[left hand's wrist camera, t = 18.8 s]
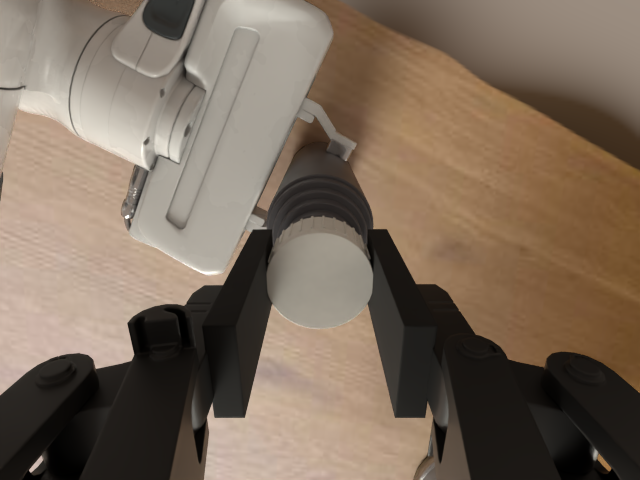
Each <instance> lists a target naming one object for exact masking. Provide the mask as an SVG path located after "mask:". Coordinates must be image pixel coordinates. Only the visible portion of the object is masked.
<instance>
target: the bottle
mask: <svg viewBox="0 0 640 480" xmlns="http://www.w3.org/2000/svg"><path fill="white" fill-rule="evenodd" d="M327 145H328V143H324V142H316V143H311V144H308V145H306V146H304V147H303V148H301V149H300V150H299V151H298V152H297V153H296V155H295V156H294V158H293V160H292V162H291V164H290V166H289V168H288V170H287V172H286V174H285V176H284V178H283V180H282V182H281V184H280V186H279V188H278V190H277V193H276V195H275V197H274V199H273V201H272V203H271V205H270V208H269V210H268V214H267V221H266V228H267V229H272V237H273V247H274V244H275V241H276V239H277V238H279V237H280V235H281V234H282V231H283V230H286V229H287V228H288V227H290V225H291V224H292V223H293V224H294V223H296V222H298V221H300V219H307V218H311V216H313V217H322V216H325V217H328V218H333V217H334V218H336V220H339V221H341V222H346V224H347V225H349V226H350V227H351V228H355V231H356V232H357V233H358V235H361V236H362V239H363V242H364V244H366V245H367V232H368V229H373V216H372V212H371V209H370V206H369V204H368V202H367V200H366V198H365V196H364V193H363V191H362V189H361V187H360V185H359V183H358V181H357V179H356V177H355V175H354V173H353V171H352V169H351V167H350V165H349V163H348V162H347V161H344V160H342V159H341V158H339V156H338V155H333V154H331V153H329V152H327V151H326V147H327Z"/></svg>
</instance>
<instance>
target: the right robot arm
mask: <svg viewBox="0 0 640 480" xmlns="http://www.w3.org/2000/svg"><path fill="white" fill-rule="evenodd" d="M333 36H334V32H333V28H332V25H331V22H330V20H329V17H328V16H327V14H326V13H325V12H323V11H322V10H321V9H319V8H317V7H316V6H314V5H312V4H310V3H308V2H306V1H305V0H143V2H142V3H141V4H140V6H139V7H138V8H137V10H136V11H135V12H134V14H133V15H132V16H129V15H127V14H124V13H121V12H116V11H111V10H107V9H104V8H101V7H99V6H97V5H95V4H94V3H92V2H91V1H89V0H0V199H1V192H2V184H3V172H2V170H3V166H4V162H5V158H6V154H7V150H8V146H9V142H10V138H11V134H12V130H13V127H14V123H15V119H16V115H17V111H18V109H20V110H22V111H25V112H28V113H32V114H37V115H42V116H46V117H49V118H52V119H54V120H56V121H58V122H59V123H61V124H62V125H63V126H65V127H66V128H67V129H68V130H69V131H70V132H72V133H73V134H74V135H76V136H77V137H79V138H81V139H83V140H85V141H87V142H89V143H91V144H93V145H96V146H98V147H100V148H102V149H104V150H106V151H108V152H111V153H113V154H115V155H117V156H119V157H121V158H123V159H125V160H127V161H129V162H131V163H134V164H135V166H134V169H133V173H132V176H131V179H130V183H129V189H128V193H127V196H126V199H124V201H123V204H122V207H121V215H122V216H123V217H124V221H125V226H126V228H127V230H128V231H129V234H130V235H131V236H132V237H133V238H134V239H136V240H138V241H140V242H142V243H145V244H147V245H149V246H152V247H155V248H158V249H159V250H161V251H163V252H164V253H166V254H167V255H169V256H171V257H172V258H174V259H176V260H177V261H179V262H181V263H183V264H184V265H186V266H188V267H190V268H192V269H194V270H196V271H198V272H200V273H202V274H205V275H209V276H210V275H216V274H221V273H224V272H225V270H226V269H227V267H228V265H229V264H230V262H231V260H232V258H233V255H234V253H235V251H236V249H237V247H238V245H239V243H240V240H241V238H242V236H243V234H244V232H245V230H248V231H250V232H252V230H253V229H267V228H266V221H267V219H266V218H267V214H268V212H267V211H265V210H263V209H261V208H259V207H257V203H258V201H259V199H260V197H261V195H262V193H263V190H264V188H265V186H266V184H267V182H268V180H269V177H270V175H271V173H272V171H273V169H274V167H275V164H276V162H277V160H278V158H279V156H280V154H281V151H282V149H283V147H284V145H285V143H286V141H287V138H288V136H289V134H290V132H291V130H292V128H293V125H294V123H295V121H296V119H297V117H299V118H301V119H302V120H304V121H306V122H308V123H312V122H313V120H314V118H315V116H316V118H317V119H318V121H319V122H320V124H321V126H322V127H323V129H324V130H325V132H326V133H327V135H328V137H329V138H330V141H329V143H328V145H327V147H326V151H327V152H329V153H331V154H333V155H338V156H339V158H341V159H342V160H344V161H347V162H348V160H349V158H350V156H351V154H352V153H353V151H354V149H355V147H356V145H357V143H356V142H355V141H353V140H352V139H350V138H348V137H346V136H344V135H342V134H340V133H339V132H337V131H336V129H335V128H334V126H333V124H332V123H331V121H330V119H329V118H328V116H327V115H326V113H325V111H324V110H323V108H322V106H321V105H319V104H318V103H316V102H314V101H312V100H310V99H308V98H307V95H308V93H309V91H310V89H311V86H312V84H313V82H314V80H315V78H316V76H317V73H318V71H319V69H320V67H321V65H322V63H323V60H324V58H325V56H326V54H327V52H328V49H329V47H330V45H331V43H332V40H333ZM130 219H133V220H132V223H131V222H130Z"/></svg>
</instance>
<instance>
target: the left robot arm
mask: <svg viewBox="0 0 640 480" xmlns="http://www.w3.org/2000/svg"><path fill="white" fill-rule="evenodd" d="M272 247H273V237H272V229H253V230H252V232H251V234H250V236H249V238H248V240H247V242H246V243H245V245H244V247H243V249H242V251H241V253H240V255H239V257H238V258H237V260H236V262H235V264H234V266H233V268H232V270H231V272H230V274H229V275H228V277H227V279H226V281H225V283H224V285H205V286H203V287H202V288H200V289H199V290H197V291H196V292H194V293H193V294H192V295H191V297H190V298H189V300H188V301H187V304H186V305H185V306H182V305H178V304H165V305H160V306H154V307H152V308H149V309H146V310H143V311H142V312H140V313H138V314H137V315H135V316H133V317H132V319H131V320H130V321H129V322H128V323H127V324H128V328H129V333H130V337H131V341H132V346H133V350H134V357H133V359H132V361H130V362H126V363H123V364H118V365H113V366H109V367H104V368H99V369H96V368H95V365H94V361H93V359H92V358H91V357H89V356H88V355H84V354H79V353H77V354H66V355H61V356H59V357H58V356H57V357H54V358H51V359H49V360H48V361H45V362H43V363H41V364H39V365H37V366H36V367H34V368H33V369H31V370H30V371H29V372H27V373H26V374H25V375H23V376H22V377H21V378H20V379H19V380H18V381H17V382H15V383H14V384H13V385H12V386H11V387H10V388H8V389H7V390H6V391H5V392H4V393H3V394H1V395H0V480H204V473H205V464H206V455H207V446H208V437H209V429H208V422H207V415H208V412H209V410H210V407H211V404H212V402H213V410H214V417H215V418H245V415H246V410H247V406H248V402H249V398H250V394H251V390H252V385H253V381H254V377H255V373H256V369H257V364H258V360H259V356H260V352H261V348H262V343H263V339H264V335H265V331H266V327H267V322H268V318H269V314H270V310H271V306H272V302H271V300H270V298H269V296H268V291H267V274H266V272H267V268H268V265H269V263H268V259H269V256H270V253H271V250H272ZM367 248H368V251H369V254H370V257H371V259H370V263H371V266H372V269H373V288H372V295H371V297H370V300H369V301H368V307H369V311H370V315H371V319H372V323H373V328H374V332H375V336H376V340H377V344H378V349H379V353H380V357H381V361H382V365H383V370H384V374H385V378H386V382H387V386H388V390H389V395H390V399H391V403H392V407H393V411H394V416H395V418H425V415H426V408H427V401H428V403H429V406H430V409H431V411H432V414H433V422H432V429H431V436H430V442H429V449H428V457H427V458H426V459H425V460H424V461H423V462H422V463H421V465H420V466H419V468H418V469H417V471H416V474H415V476H414V480H640V393H639V392H638V391H636V390H635V389H634V388H633V387H632V386H631V385H629V384H628V383H627V382H626V381H625V380H624V379H622V378H621V377H620V376H619V375H618V374H617V373H615V372H614V371H613V370H611V369H610V368H608V367H607V366H606V365H604V364H603V363H601V362H599V361H596V360H594V359H592V358H590V357H588V356H585V355H581V354H577V353H571V352H558V353H552V354H551V355H550V356H549V357H548V358H547V360H546V364H545V367H539V366H534V365H529V364H524V363H520V362H516V361H512V360H508V359H507V356H506V354H505V353H504V352H503V350H502V349H501V348H500V347H499V346H498V345H497V344H495V343H494V342H492V341H491V340H489V339H486V338H484V337H482V336H478V335H476V334H475V333H474V331H473V330H472V328H471V327H470V326H469V324H468V323H467V321H466V320H465V318H464V317H463V315H462V314H461V312H460V311H459V309H458V308H457V306H456V305H455V303H453V300H452V299H451V297H450V296H449V294H448V293H447V292H446V291H444V290H443V289H441V288H440V287H439V286H437V285H436V284H416V283H415V282H414V280H413V278H412V276H411V274H410V272H409V270H408V268H407V266H406V265H405V263H404V261H403V259H402V257H401V255H400V253H399V251H398V250H397V248H396V246H395V244H394V242H393V240H392V238H391V236H390V234H389V233H388V231H387V229H368V232H367ZM598 454H600V455H601V456H602V457H603V459H604V460H605V461H606V462H607V463H608V464H609V466H610V467H611V468H612V469H611V471H610V472H609V471H608V470H607V469H606V468H604V467H603V466H602V464H601V463H600V462H599V461H598V460H597V457H598ZM41 455H42V458H43V461H42V463H41V464H40V465H39V466H38V467H37V468H36V469H35V470H34V471H33V472H32V473H30V472H29V469H30V468H31V467H32V466H33V464H34V463H35V462H36V461H37V460H38V459H39V457H40V456H41Z"/></svg>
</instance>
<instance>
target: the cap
mask: <svg viewBox="0 0 640 480" xmlns="http://www.w3.org/2000/svg"><path fill="white" fill-rule="evenodd" d="M370 259H371V257H370V254H369V251H368V248H367V245H366V244H364V242H363V239H362V236H361V235H358V233H357V232H356V231H355V228H351V227H350V226H349V225H347V224H346V222H341V221H339V220H336V218H334V217H333V218H328V217H325V216H322V217H313V216H311V218H307V219H300V221H298V222H296V223H294V224H293V223H292V224H291V225H290V227H288V228H287V229H286V230H283V231H282V234H281V235H280V237H279V238H277V239H276V241H275V244H274V247H272V250H271V253H270V256H269V259H268V263H269V265H268V268H267V272H266V274H267V291H268V296H269V298H270V300H271V302H272V304H273V305H274V307H275V308H276V309H277V311H278V312H279V313H280V314H281V315H283V316H284V317H285V318H286V319H288V320H289V321H291V322H293V323H295V324H297V325H300V326H303V327H307V328H313V329H326V328H332V327H336V326H340V325H342V324H344V323H347V322H348V321H350V320H352V319H353V318H355V317H356V316H357V315H358V314H359V313H360V312H361V311H362V310H363V309H364V308H365V306H366V305H367V303H368V301H369V300H370V297H371V295H372V288H373V269H372V266H371V263H370Z"/></svg>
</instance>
